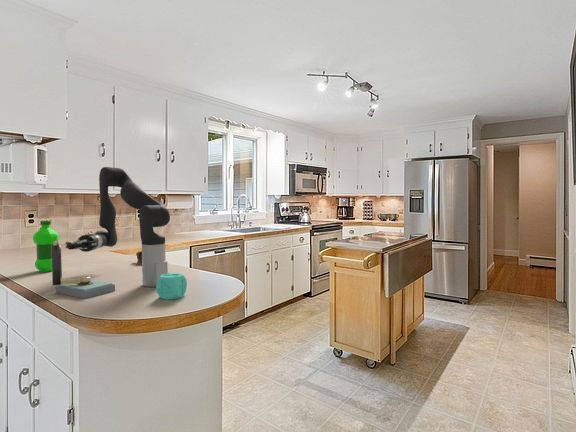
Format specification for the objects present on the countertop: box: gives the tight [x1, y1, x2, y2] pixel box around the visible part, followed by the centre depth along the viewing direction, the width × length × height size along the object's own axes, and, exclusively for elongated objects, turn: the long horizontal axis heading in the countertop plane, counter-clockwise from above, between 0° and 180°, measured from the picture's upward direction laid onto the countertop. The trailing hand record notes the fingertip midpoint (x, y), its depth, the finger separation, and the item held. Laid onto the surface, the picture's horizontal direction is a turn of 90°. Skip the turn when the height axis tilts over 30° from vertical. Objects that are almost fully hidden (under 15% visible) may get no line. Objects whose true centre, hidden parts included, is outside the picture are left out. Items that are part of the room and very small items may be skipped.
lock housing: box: [54, 279, 116, 299], centre depth 133 cm, size 18×12×3 cm, turn 63°
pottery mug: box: [136, 250, 142, 265], centre depth 193 cm, size 12×10×8 cm
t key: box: [51, 240, 92, 286], centre depth 131 cm, size 12×6×16 cm, turn 118°
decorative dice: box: [155, 272, 188, 301], centre depth 127 cm, size 8×8×8 cm
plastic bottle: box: [32, 220, 60, 273], centre depth 172 cm, size 10×10×25 cm
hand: (70, 246), depth 139 cm, fingers closed
